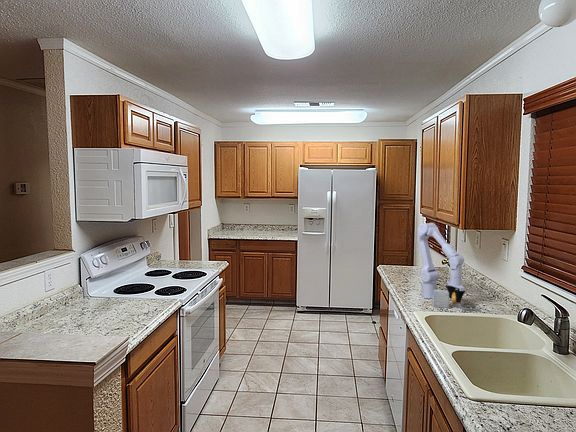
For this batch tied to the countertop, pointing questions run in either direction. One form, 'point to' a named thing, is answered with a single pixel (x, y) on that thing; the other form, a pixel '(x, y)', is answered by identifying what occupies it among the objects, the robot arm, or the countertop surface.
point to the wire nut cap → (454, 298)
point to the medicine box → (440, 298)
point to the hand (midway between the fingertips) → (454, 300)
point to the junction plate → (468, 307)
